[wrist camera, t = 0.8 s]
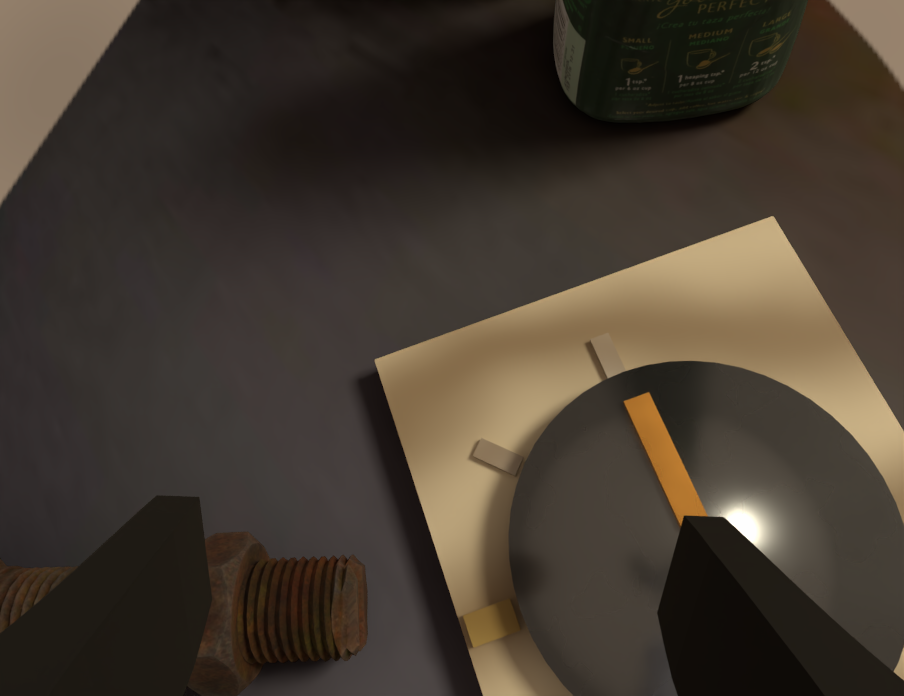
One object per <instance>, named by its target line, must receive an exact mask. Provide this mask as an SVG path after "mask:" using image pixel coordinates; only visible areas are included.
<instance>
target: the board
mask: <svg viewBox="0 0 904 696" xmlns="http://www.w3.org/2000/svg"><path fill="white" fill-rule="evenodd" d="M669 361H703V362H715V363H721V364H726V365H731V366H736V367H741V368H744V369H747V370H750V371H753V372H756V373H759V374H762V375H765V376H767V377H769V378H772V379H774V380H776V381H778V382H780V383H783V384H785V385H787V386H789V387H791V388H792V389H794V390H796V391H797V392H799V393H801V394H802V395H804V396H806V397H807V398H809V399H811V400H812V401H813V402H815V403H816V404H817V405H819V406H820V407H821V408H823V409H824V410H825V411H826V412H828V413H829V414H830V415H832V416H833V417H834V418H835V419H836V420H837V421H838V422H839V423H840V424H841V425H842V426H843V427H844V428H845V429H846V430H847V431H848V432H850V433H851V435H852V436H853V437H854V438H855V439H856V440H857V442H858V443H859V444H860V445H861V446H862V448H863V449H864V450H865V451H866V452H867V454H868V455H869V456H870V458H871V459H872V461H873V462H874V464H875V465H876V467H877V468H878V470H879V472H880V473H881V475H882V476H883V478H884V480H885V482H886V484H887V486H888V488H889V490H890V492H891V494H892V495H893V497H894V499H895V501H896V504H897V507H898V510H899V512H900V515H901V518H902V521H903V523H904V431H903V429H902V428H901V426H900V424H899V423H898V421H897V420H896V418H895V416H894V415H893V413H892V411H891V410H890V408H889V406H888V405H887V403H886V401H885V400H884V398H883V396H882V395H881V393H880V391H879V390H878V388H877V387H876V385H875V383H874V382H873V380H872V378H871V377H870V375H869V373H868V372H867V370H866V368H865V367H864V365H863V363H862V362H861V360H860V358H859V357H858V355H857V354H856V352H855V350H854V349H853V347H852V345H851V344H850V342H849V340H848V339H847V337H846V335H845V334H844V332H843V330H842V329H841V327H840V325H839V324H838V322H837V320H836V319H835V317H834V316H833V314H832V312H831V311H830V309H829V307H828V306H827V304H826V302H825V301H824V299H823V297H822V296H821V294H820V292H819V291H818V289H817V287H816V286H815V284H814V283H813V281H812V279H811V278H810V276H809V274H808V273H807V271H806V269H805V268H804V266H803V264H802V263H801V261H800V259H799V258H798V256H797V254H796V253H795V251H794V250H793V248H792V246H791V245H790V243H789V241H788V240H787V238H786V236H785V235H784V233H783V231H782V230H781V228H780V226H779V225H778V223H777V221H776V220H775V218H774V217H773V216H772V217H769V218H766V219H763V220H760V221H758V222H755V223H752V224H749V225H747V226H744V227H741V228H738V229H736V230H733V231H730V232H727V233H724V234H722V235H719V236H716V237H713V238H711V239H708V240H705V241H702V242H699V243H697V244H694V245H691V246H688V247H686V248H683V249H680V250H677V251H675V252H672V253H669V254H666V255H663V256H661V257H658V258H655V259H652V260H650V261H647V262H644V263H641V264H638V265H636V266H633V267H630V268H627V269H625V270H622V271H619V272H616V273H613V274H611V275H608V276H605V277H602V278H600V279H597V280H594V281H591V282H589V283H586V284H583V285H580V286H577V287H575V288H572V289H569V290H566V291H564V292H561V293H558V294H555V295H552V296H550V297H547V298H544V299H541V300H539V301H536V302H533V303H530V304H528V305H525V306H522V307H519V308H516V309H514V310H511V311H508V312H505V313H503V314H500V315H497V316H494V317H491V318H489V319H486V320H483V321H480V322H478V323H475V324H472V325H469V326H467V327H464V328H461V329H458V330H455V331H453V332H450V333H447V334H444V335H442V336H439V337H436V338H433V339H430V340H428V341H425V342H422V343H419V344H417V345H414V346H411V347H408V348H406V349H403V350H400V351H397V352H394V353H392V354H389V355H386V356H383V357H381V358H378V359H375V363H376V366H377V369H378V372H379V376H380V379H381V382H382V385H383V388H384V391H385V394H386V397H387V400H388V403H389V406H390V410H391V413H392V416H393V419H394V422H395V425H396V428H397V431H398V434H399V437H400V440H401V444H402V447H403V450H404V453H405V456H406V459H407V462H408V465H409V468H410V471H411V474H412V478H413V481H414V484H415V487H416V490H417V493H418V496H419V499H420V502H421V505H422V508H423V512H424V515H425V518H426V521H427V524H428V527H429V530H430V533H431V536H432V539H433V542H434V546H435V549H436V552H437V555H438V558H439V561H440V564H441V567H442V570H443V573H444V576H445V580H446V583H447V586H448V589H449V592H450V595H451V598H452V601H453V604H454V607H455V610H456V613H457V617H458V620H459V623H460V626H461V629H462V632H463V635H464V638H465V641H466V644H467V647H468V651H469V654H470V657H471V660H472V663H473V666H474V669H475V672H476V675H477V678H478V681H479V685H480V688H481V691H482V694H483V696H573V695H572V694H571V693H570V692H569V691H568V690H567V689H566V687H565V686H564V685H563V684H562V683H561V681H560V680H559V679H558V677H557V676H556V675H555V673H554V672H553V671H552V669H551V668H550V667H549V666H548V664H547V663H546V661H545V660H544V658H543V656H542V654H541V653H540V651H539V649H538V647H537V646H536V644H535V642H534V641H533V639H532V637H531V635H530V632H529V630H528V628H527V625H526V623H525V621H524V618H523V616H522V614H521V611H520V607H519V604H518V600H517V597H516V593H515V590H514V587H513V581H512V574H511V568H510V562H509V538H508V533H509V522H510V512H511V506H512V502H513V497H514V493H515V489H516V485H517V482H518V479H519V477H520V474H521V471H522V469H523V466H524V463H525V461H526V459H527V458H528V456H529V454H530V452H531V450H532V448H533V446H534V444H535V443H536V441H537V440H538V438H539V437H540V436H541V434H542V433H543V431H544V430H545V429H546V427H547V426H548V425H549V423H550V422H551V421H552V420H553V419H554V418H555V417H556V416H557V415H558V414H559V413H560V412H561V411H562V410H563V409H564V407H566V406H567V405H568V404H569V403H571V402H572V401H573V400H574V399H576V398H577V397H578V396H579V395H581V394H582V393H583V392H585V391H586V390H588V389H590V388H591V387H593V386H595V385H596V384H598V383H600V382H601V381H603V380H606V379H608V378H610V377H612V376H615V375H617V374H619V373H621V372H624V371H627V370H631V369H634V368H638V367H641V366H645V365H650V364H656V363H662V362H669ZM894 673H896V674H897V675H898V676H899V677H900V678H902V679H903V680H904V648H903V651H902V654H901V656H900V659H899V662H898V664H897V666H896V668H895V670H894Z"/></svg>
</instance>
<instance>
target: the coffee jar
mask: <svg viewBox="0 0 904 696" xmlns="http://www.w3.org/2000/svg"><path fill="white" fill-rule="evenodd" d="M807 1H808V0H556V2H555V12H554V30H553V47H554V58H555V64H556V69H557V74H558V77H559V80H560V83H561V86H562V88H563V91H564V93H565V94H566V96H567V97H568V99H569V100H570V101H571V102H572V104H573V105H575V106H576V107H577V108H578V109H579V110H580V111H582V112H584V113H585V114H587V115H588V116H590V117H592V118H594V119H598V120H602V121H607V122H616V123H644V122H663V121H672V120H678V119H686V118H695V117H700V116H706V115H711V114H716V113H721V112H726V111H730V110H734V109H738V108H741V107H744V106H747V105H749V104H751V103H753V102H755V101H757V100H759V99H760V98H762V97H763V96H764V95H766V94H767V93H768V92H769V91H770V90H771V89H772V88H773V87H774V86H775V85H776V84H777V82H778V80H779V79H780V77H781V75H782V73H783V71H784V68H785V66H786V64H787V61H788V59H789V56H790V53H791V51H792V48H793V45H794V42H795V39H796V37H797V34H798V31H799V28H800V24H801V21H802V18H803V15H804V11H805V8H806V5H807Z"/></svg>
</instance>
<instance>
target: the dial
mask: <svg viewBox="0 0 904 696" xmlns="http://www.w3.org/2000/svg"><path fill="white" fill-rule="evenodd" d="M684 515H687V516H713V517H724V518H726V519H727V520H728V521H729V522H730V523H731V524H732V525H733V526H735V527H736V528H737V529H738V530H739V531H740V532H741V533H742V534H743V535H744V536H745V537H746V538H747V539H749V540H750V541H751V542H752V543H753V544H754V545H755V546H756V547H757V548H758V549H759V550H760V551H761V552H762V553H763V554H764V555H765V556H766V557H767V558H768V559H770V560H771V561H772V562H773V563H774V564H775V565H776V566H777V567H778V568H779V569H780V570H781V571H782V572H783V573H784V574H785V575H786V576H787V577H788V578H789V579H791V580H792V581H793V582H794V583H795V584H796V585H797V586H798V587H799V588H800V589H801V590H802V591H803V592H804V593H805V594H806V595H808V596H809V597H810V598H811V599H812V600H813V601H814V602H815V603H816V604H817V605H818V606H819V607H820V608H822V609H823V610H824V611H825V612H826V613H827V614H828V615H829V616H830V617H831V618H832V619H833V620H835V621H836V622H837V623H838V624H839V625H840V626H841V627H842V628H843V629H845V630H846V631H847V632H848V633H849V634H850V635H851V636H852V637H854V638H855V639H856V640H857V641H858V642H859V643H860V644H862V645H863V646H864V647H865V648H866V649H867V650H868V651H870V652H871V653H872V654H873V655H874V656H875V657H877V658H878V659H879V660H880V661H881V662H882V663H884V664H885V665H886V666H887V667H888V668H890V669H891V670H892V671H893V672H894V670H895V668H896V666H897V664H898V662H899V659H900V656H901V654H902V651H903V648H904V523H903V521H902V518H901V515H900V512H899V510H898V507H897V504H896V501H895V499H894V497H893V495H892V494H891V492H890V490H889V488H888V486H887V484H886V482H885V480H884V478H883V476H882V475H881V473H880V472H879V470H878V468H877V467H876V465H875V464H874V462H873V461H872V459H871V458H870V456H869V455H868V454H867V452H866V451H865V450H864V449H863V448H862V446H861V445H860V444H859V443H858V442H857V440H856V439H855V438H854V437H853V436H852V435H851V433H850V432H848V431H847V430H846V429H845V428H844V427H843V426H842V425H841V424H840V423H839V422H838V421H837V420H836V419H835V418H834V417H833V416H832V415H830V414H829V413H828V412H826V411H825V410H824V409H823V408H821V407H820V406H819V405H817V404H816V403H815V402H813V401H812V400H811V399H809V398H807V397H806V396H804V395H802V394H801V393H799V392H797V391H796V390H794V389H792V388H791V387H789V386H787V385H785V384H783V383H780V382H778V381H776V380H774V379H772V378H769V377H767V376H765V375H762V374H759V373H756V372H753V371H750V370H747V369H744V368H741V367H736V366H731V365H726V364H721V363H715V362H703V361H669V362H662V363H656V364H650V365H645V366H641V367H638V368H634V369H631V370H627V371H624V372H621V373H619V374H617V375H615V376H612V377H610V378H608V379H606V380H603V381H601V382H600V383H598V384H596V385H595V386H593V387H591V388H590V389H588V390H586V391H585V392H583V393H582V394H581V395H579V396H578V397H577V398H576V399H574V400H573V401H572V402H571V403H569V404H568V405H567V406H566V407H564V409H563V410H562V411H561V412H560V413H559V414H558V415H557V416H556V417H555V418H554V419H553V420H552V421H551V422H550V423H549V425H548V426H547V427H546V429H545V430H544V431H543V433H542V434H541V436H540V437H539V438H538V440H537V441H536V443H535V444H534V446H533V448H532V450H531V452H530V454H529V456H528V458H527V459H526V461H525V463H524V466H523V469H522V471H521V474H520V477H519V479H518V482H517V485H516V489H515V493H514V497H513V502H512V506H511V512H510V522H509V533H508V538H509V562H510V568H511V574H512V581H513V587H514V590H515V593H516V597H517V600H518V604H519V607H520V611H521V614H522V616H523V618H524V621H525V623H526V625H527V628H528V630H529V632H530V635H531V637H532V639H533V641H534V642H535V644H536V646H537V647H538V649H539V651H540V653H541V654H542V656H543V658H544V660H545V661H546V663H547V664H548V666H549V667H550V668H551V669H552V671H553V672H554V673H555V675H556V676H557V677H558V679H559V680H560V681H561V683H562V684H563V685H564V686H565V687H566V689H567V690H568V691H569V692H570V693H571V694H572V695H573V696H678V695H677V692H676V689H675V686H674V683H673V680H672V677H671V673H670V668H669V664H668V660H667V656H666V652H665V648H664V643H663V638H662V634H661V629H660V624H659V620H658V615H657V611H658V608H659V604H660V600H661V597H662V593H663V590H664V586H665V582H666V579H667V575H668V571H669V568H670V564H671V561H672V557H673V553H674V550H675V546H676V543H677V539H678V535H679V532H680V528H681V524H682V521H683V517H684Z"/></svg>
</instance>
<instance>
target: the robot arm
mask: <svg viewBox="0 0 904 696" xmlns="http://www.w3.org/2000/svg"><path fill="white" fill-rule="evenodd" d="M211 602H212V593H211V586H210V578H209V570H208V562H207V554H206V546H205V539H204V531H203V523H202V515H201V507H200V500H199V497H182V496H156V497H155V498H154V499H152V500H151V501H150V502H149V503H148V504H147V505H146V506H144V507H143V508H142V509H141V510H140V511H139V512H138V513H137V514H135V515H134V516H133V517H132V518H131V519H130V520H129V521H128V522H127V523H126V524H125V525H123V526H122V527H121V528H120V529H119V530H118V531H117V532H116V533H115V534H114V535H113V536H111V537H110V538H109V539H108V540H107V541H106V542H105V543H104V544H103V545H102V546H101V547H99V548H98V549H97V550H96V551H95V552H94V553H93V554H92V555H91V556H90V557H88V558H87V559H86V560H85V561H84V562H83V563H82V564H81V565H80V566H78V567H77V568H76V569H75V570H74V571H73V572H72V573H71V574H69V575H68V576H67V577H66V578H65V579H64V580H63V581H61V582H60V583H59V584H58V585H57V586H56V587H55V588H53V589H52V590H51V591H50V592H49V593H48V594H47V595H45V596H44V597H43V598H42V599H41V600H40V601H39V602H37V603H36V604H35V605H34V606H33V607H32V608H30V609H29V610H28V611H27V612H26V613H24V614H23V615H22V616H21V617H20V618H18V619H17V620H16V621H15V622H13V623H12V624H11V625H10V626H8V627H7V628H6V629H5V630H4V631H2V632H1V633H0V696H183V694H184V692H185V689H186V687H187V684H188V682H189V679H190V676H191V674H192V671H193V669H194V666H195V662H196V658H197V655H198V651H199V648H200V644H201V641H202V637H203V633H204V629H205V625H206V621H207V618H208V614H209V610H210V606H211ZM657 615H658V620H659V624H660V629H661V634H662V638H663V643H664V648H665V652H666V656H667V660H668V664H669V668H670V673H671V677H672V680H673V683H674V686H675V689H676V692H677V695H678V696H904V680H903V679H902V678H900V677H899V676H898V675H897V674H896V673H894V672H893V671H892V670H891V669H890V668H888V667H887V666H886V665H885V664H884V663H882V662H881V661H880V660H879V659H878V658H877V657H875V656H874V655H873V654H872V653H871V652H870V651H868V650H867V649H866V648H865V647H864V646H863V645H862V644H860V643H859V642H858V641H857V640H856V639H855V638H854V637H852V636H851V635H850V634H849V633H848V632H847V631H846V630H845V629H843V628H842V627H841V626H840V625H839V624H838V623H837V622H836V621H835V620H833V619H832V618H831V617H830V616H829V615H828V614H827V613H826V612H825V611H824V610H823V609H822V608H820V607H819V606H818V605H817V604H816V603H815V602H814V601H813V600H812V599H811V598H810V597H809V596H808V595H806V594H805V593H804V592H803V591H802V590H801V589H800V588H799V587H798V586H797V585H796V584H795V583H794V582H793V581H792V580H791V579H789V578H788V577H787V576H786V575H785V574H784V573H783V572H782V571H781V570H780V569H779V568H778V567H777V566H776V565H775V564H774V563H773V562H772V561H771V560H770V559H768V558H767V557H766V556H765V555H764V554H763V553H762V552H761V551H760V550H759V549H758V548H757V547H756V546H755V545H754V544H753V543H752V542H751V541H750V540H749V539H747V538H746V537H745V536H744V535H743V534H742V533H741V532H740V531H739V530H738V529H737V528H736V527H735V526H733V525H732V524H731V523H730V522H729V521H728V520H727V519H726V518H724V517H713V516H687V515H684V517H683V521H682V524H681V528H680V532H679V535H678V539H677V543H676V546H675V550H674V553H673V557H672V561H671V564H670V568H669V571H668V575H667V579H666V582H665V586H664V590H663V593H662V597H661V600H660V604H659V608H658V611H657Z"/></svg>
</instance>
